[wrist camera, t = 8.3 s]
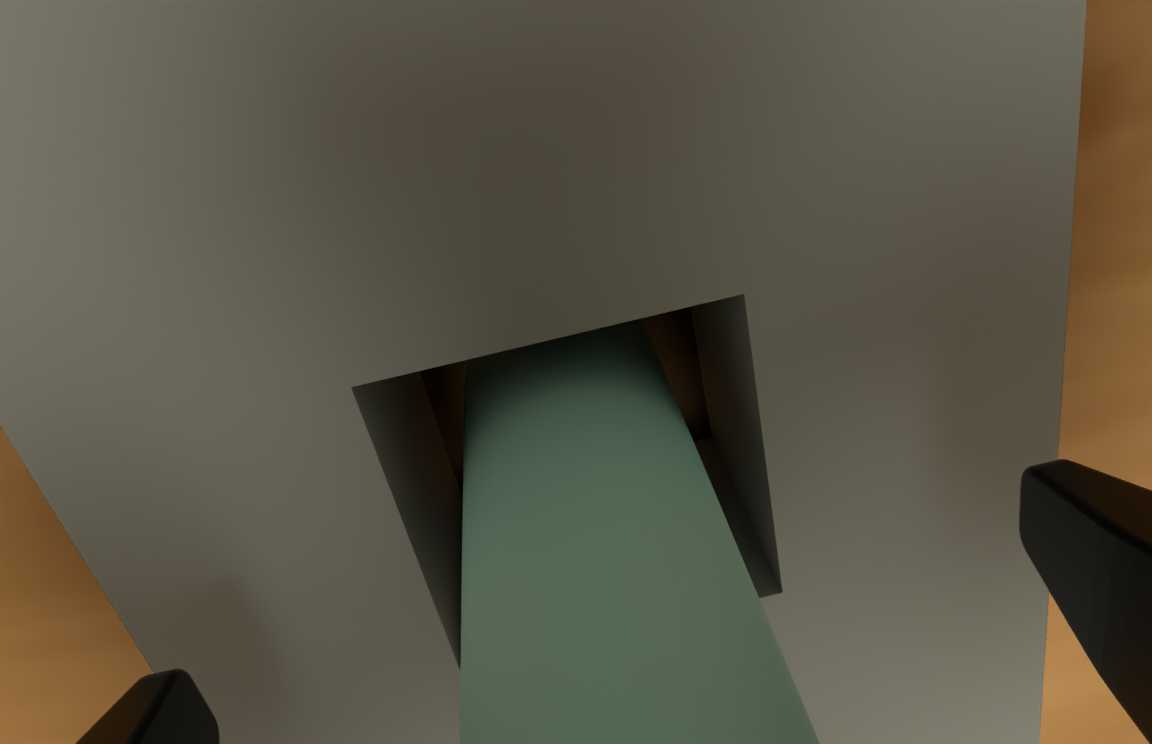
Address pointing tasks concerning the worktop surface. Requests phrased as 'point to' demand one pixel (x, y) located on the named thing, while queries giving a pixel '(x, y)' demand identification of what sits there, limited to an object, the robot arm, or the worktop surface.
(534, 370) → the peg
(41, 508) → the worktop surface
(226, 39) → the hole block
